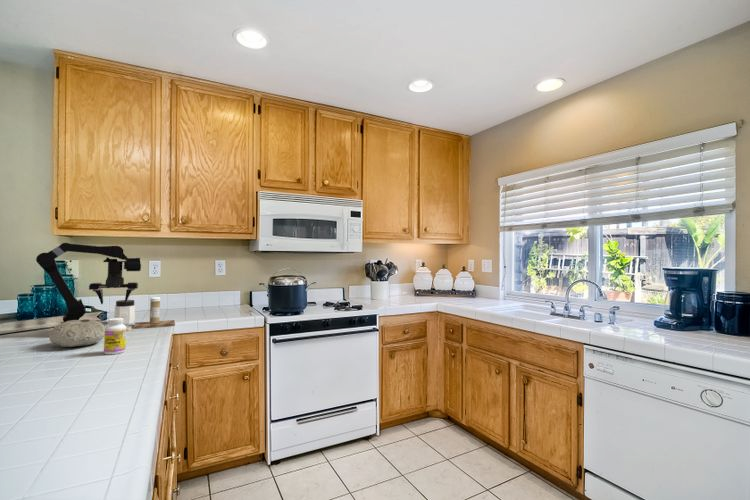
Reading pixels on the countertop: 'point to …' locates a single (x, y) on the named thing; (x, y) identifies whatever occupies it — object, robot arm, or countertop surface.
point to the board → (160, 324)
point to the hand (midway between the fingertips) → (113, 303)
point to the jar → (125, 311)
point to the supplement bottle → (115, 337)
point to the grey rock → (77, 333)
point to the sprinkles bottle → (154, 310)
